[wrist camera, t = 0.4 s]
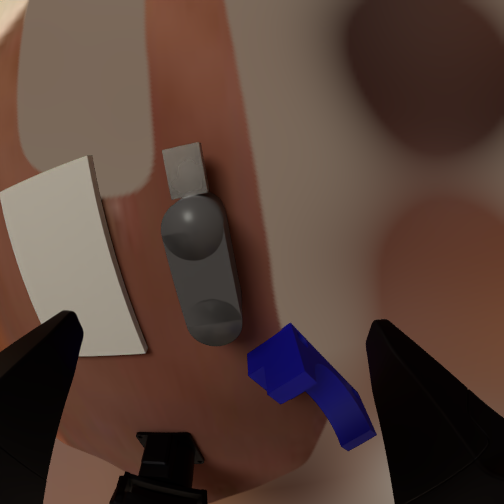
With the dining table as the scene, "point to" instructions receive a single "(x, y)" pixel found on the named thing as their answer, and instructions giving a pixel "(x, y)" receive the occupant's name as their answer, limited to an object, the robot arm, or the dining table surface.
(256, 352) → the cable clip
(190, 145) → the connector
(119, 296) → the mat
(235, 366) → the dining table surface
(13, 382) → the robot arm
